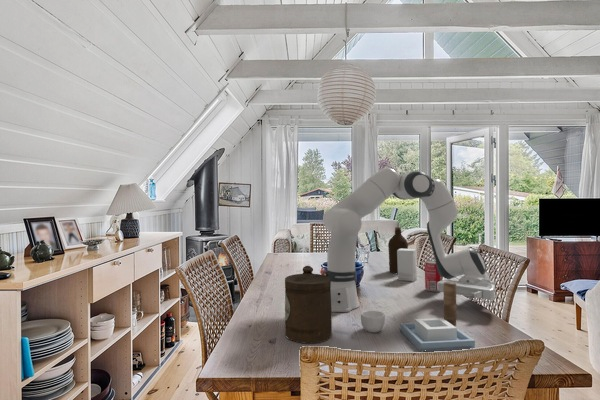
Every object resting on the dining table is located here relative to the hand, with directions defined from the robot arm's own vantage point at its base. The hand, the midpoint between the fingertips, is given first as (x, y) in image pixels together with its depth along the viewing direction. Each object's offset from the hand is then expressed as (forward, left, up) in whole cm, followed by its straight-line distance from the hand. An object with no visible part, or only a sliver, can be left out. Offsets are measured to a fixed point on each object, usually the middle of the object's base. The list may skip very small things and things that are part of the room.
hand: (459, 293), depth 137 cm
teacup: (-35, -9, -8) cm, 37 cm away
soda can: (+6, +34, -8) cm, 36 cm away
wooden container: (-57, -11, -8) cm, 58 cm away
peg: (-8, -8, -8) cm, 14 cm away
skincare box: (+2, +55, -8) cm, 56 cm away
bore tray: (-19, -20, -8) cm, 29 cm away
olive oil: (+4, +73, -8) cm, 74 cm away
